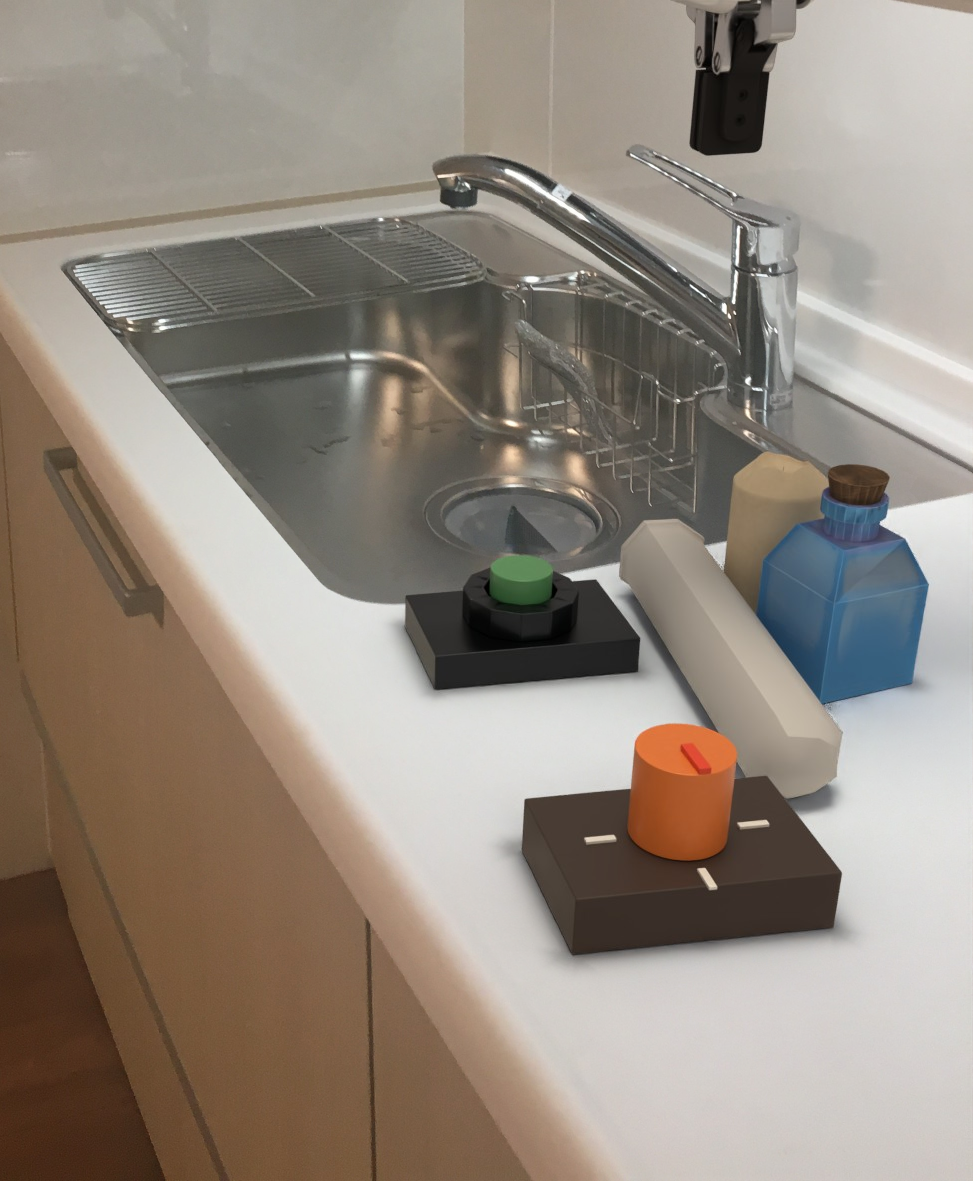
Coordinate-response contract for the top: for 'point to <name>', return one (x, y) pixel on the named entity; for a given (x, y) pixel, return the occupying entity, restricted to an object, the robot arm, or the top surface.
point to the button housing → (519, 634)
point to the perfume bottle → (846, 592)
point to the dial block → (677, 873)
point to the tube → (731, 659)
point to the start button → (521, 580)
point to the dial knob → (681, 791)
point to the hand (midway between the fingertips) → (724, 150)
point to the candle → (767, 514)
